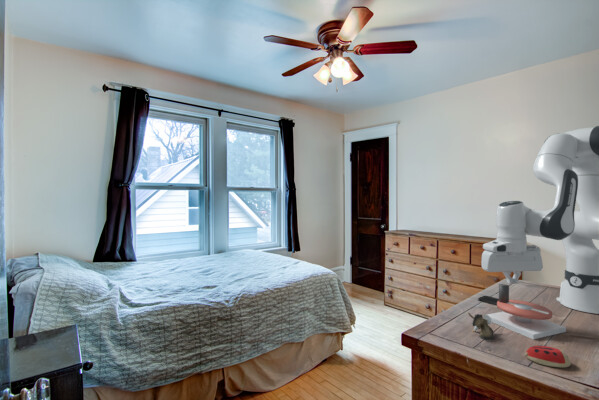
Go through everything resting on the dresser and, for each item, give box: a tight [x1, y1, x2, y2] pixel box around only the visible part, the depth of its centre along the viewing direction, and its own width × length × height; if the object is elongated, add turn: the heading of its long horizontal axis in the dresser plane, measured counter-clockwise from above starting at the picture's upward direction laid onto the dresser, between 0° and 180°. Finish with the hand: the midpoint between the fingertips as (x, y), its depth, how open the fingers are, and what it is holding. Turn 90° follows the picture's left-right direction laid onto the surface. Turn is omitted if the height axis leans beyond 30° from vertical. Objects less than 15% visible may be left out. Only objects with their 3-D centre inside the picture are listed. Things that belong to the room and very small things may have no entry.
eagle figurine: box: [467, 312, 495, 341], centre depth 93 cm, size 8×7×9 cm
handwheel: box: [496, 283, 553, 320], centre depth 99 cm, size 15×15×7 cm
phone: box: [477, 295, 499, 307], centre depth 119 cm, size 8×1×15 cm
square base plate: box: [486, 311, 567, 340], centre depth 99 cm, size 16×16×4 cm
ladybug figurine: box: [524, 344, 572, 369], centre depth 77 cm, size 7×10×4 cm
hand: (512, 283), depth 105 cm, fingers closed
